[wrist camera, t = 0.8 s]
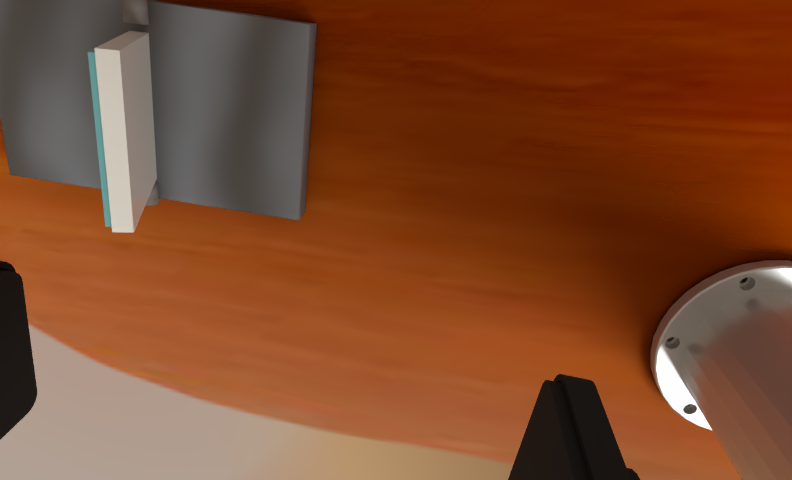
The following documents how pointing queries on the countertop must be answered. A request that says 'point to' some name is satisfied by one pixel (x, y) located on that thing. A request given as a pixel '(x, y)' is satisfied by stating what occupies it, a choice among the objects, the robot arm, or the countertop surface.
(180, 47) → the board
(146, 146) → the tile
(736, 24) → the countertop surface
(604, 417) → the robot arm
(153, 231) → the countertop surface
